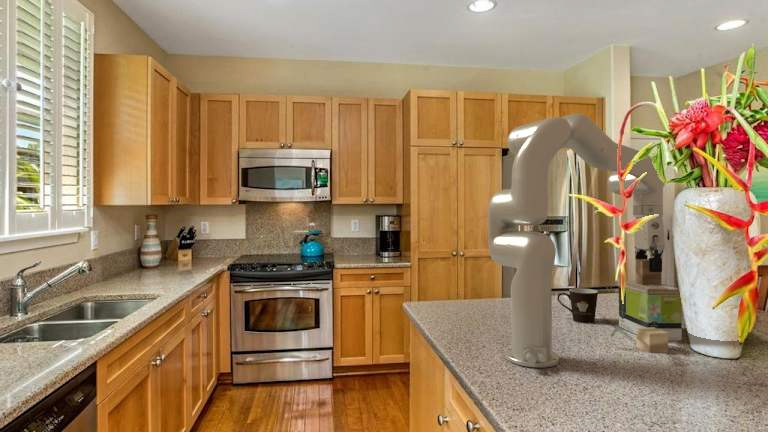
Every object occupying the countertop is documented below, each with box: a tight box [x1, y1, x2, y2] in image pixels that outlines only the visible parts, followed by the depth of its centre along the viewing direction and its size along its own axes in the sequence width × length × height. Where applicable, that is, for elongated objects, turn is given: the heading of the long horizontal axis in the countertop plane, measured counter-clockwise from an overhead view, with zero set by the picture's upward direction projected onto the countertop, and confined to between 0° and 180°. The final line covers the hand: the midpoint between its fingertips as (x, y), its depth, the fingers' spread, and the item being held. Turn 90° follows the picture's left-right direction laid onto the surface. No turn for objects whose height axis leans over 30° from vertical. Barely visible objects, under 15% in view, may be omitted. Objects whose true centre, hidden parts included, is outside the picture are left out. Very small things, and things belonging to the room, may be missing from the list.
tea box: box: [618, 280, 683, 342], centre depth 123 cm, size 15×10×15 cm
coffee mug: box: [556, 287, 599, 324], centre depth 139 cm, size 12×9×10 cm
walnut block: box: [634, 258, 663, 285], centre depth 123 cm, size 5×5×7 cm
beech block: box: [635, 327, 669, 353], centre depth 110 cm, size 5×5×5 cm
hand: (648, 269), depth 123 cm, fingers open, 9 cm apart
